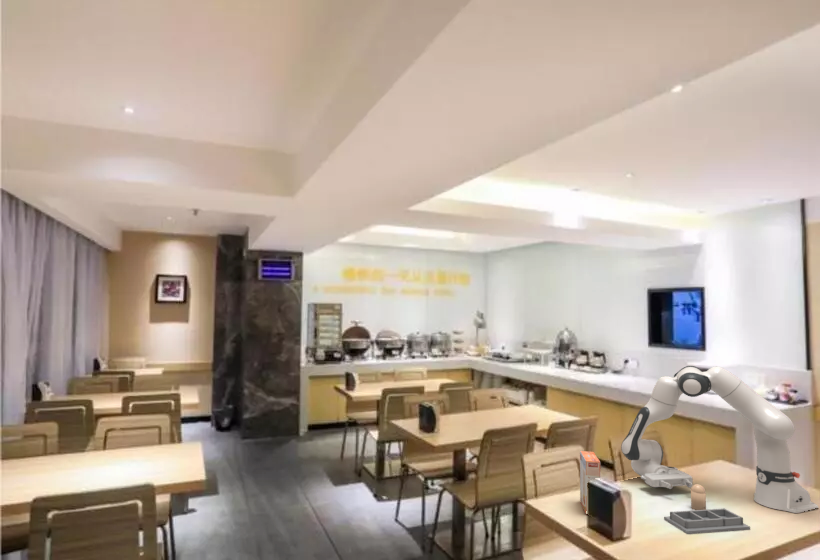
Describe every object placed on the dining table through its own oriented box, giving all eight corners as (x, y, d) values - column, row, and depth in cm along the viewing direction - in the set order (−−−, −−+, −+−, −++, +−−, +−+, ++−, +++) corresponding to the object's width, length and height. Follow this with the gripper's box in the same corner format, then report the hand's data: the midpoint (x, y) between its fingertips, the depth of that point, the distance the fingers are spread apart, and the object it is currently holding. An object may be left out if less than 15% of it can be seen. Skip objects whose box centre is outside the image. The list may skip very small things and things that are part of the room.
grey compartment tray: (723, 515, 185) (723, 506, 185) (750, 529, 173) (749, 519, 174) (664, 519, 181) (663, 510, 181) (687, 534, 169) (687, 524, 169)
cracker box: (601, 516, 182) (601, 461, 184) (585, 515, 184) (584, 460, 185) (595, 502, 196) (594, 451, 198) (579, 501, 197) (579, 450, 199)
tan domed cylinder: (699, 505, 194) (698, 482, 195) (709, 511, 189) (708, 486, 190) (688, 506, 193) (687, 482, 194) (697, 511, 188) (697, 487, 189)
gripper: (638, 469, 213) (658, 479, 200) (678, 467, 217) (701, 477, 203) (638, 483, 213) (659, 495, 199) (679, 481, 216) (702, 492, 203)
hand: (681, 486), depth 201 cm, fingers open, 8 cm apart
